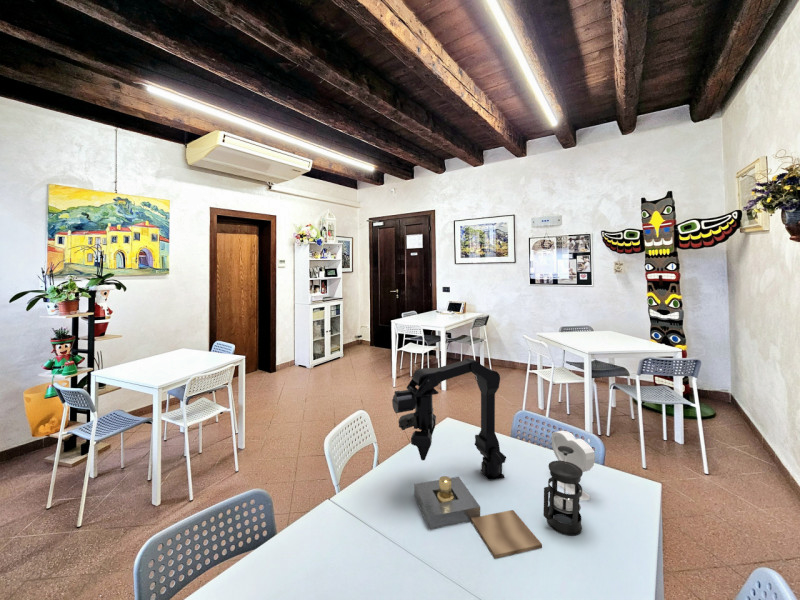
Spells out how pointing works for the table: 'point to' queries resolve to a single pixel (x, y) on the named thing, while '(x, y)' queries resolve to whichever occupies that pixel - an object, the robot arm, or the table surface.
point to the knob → (444, 490)
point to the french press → (563, 495)
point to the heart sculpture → (573, 455)
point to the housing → (446, 504)
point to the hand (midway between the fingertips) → (424, 452)
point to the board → (505, 534)
